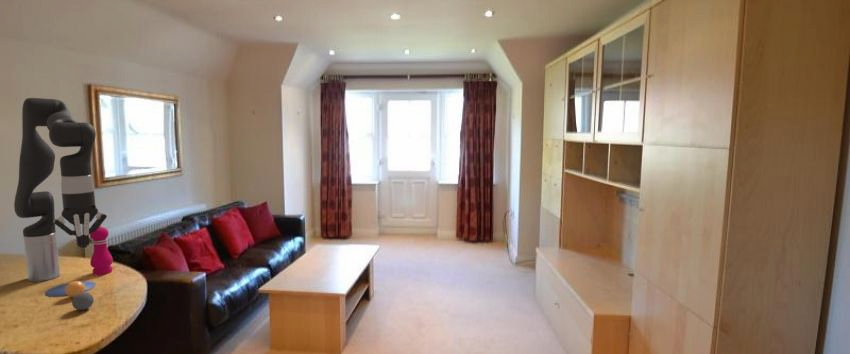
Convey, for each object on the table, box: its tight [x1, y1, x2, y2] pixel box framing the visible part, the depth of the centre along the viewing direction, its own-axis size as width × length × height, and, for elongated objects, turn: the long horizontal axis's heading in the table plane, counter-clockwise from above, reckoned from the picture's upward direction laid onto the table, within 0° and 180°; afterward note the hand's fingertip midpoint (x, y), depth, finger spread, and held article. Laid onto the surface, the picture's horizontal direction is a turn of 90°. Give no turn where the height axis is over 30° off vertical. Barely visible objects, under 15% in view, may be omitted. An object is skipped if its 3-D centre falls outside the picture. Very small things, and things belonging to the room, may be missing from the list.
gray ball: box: [71, 292, 95, 311], centre depth 140 cm, size 6×6×6 cm
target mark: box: [45, 280, 96, 298], centre depth 157 cm, size 14×14×1 cm
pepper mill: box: [89, 224, 114, 276], centre depth 172 cm, size 7×7×20 cm
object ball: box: [65, 280, 86, 299], centre depth 150 cm, size 6×6×6 cm
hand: (83, 247), depth 131 cm, fingers closed
